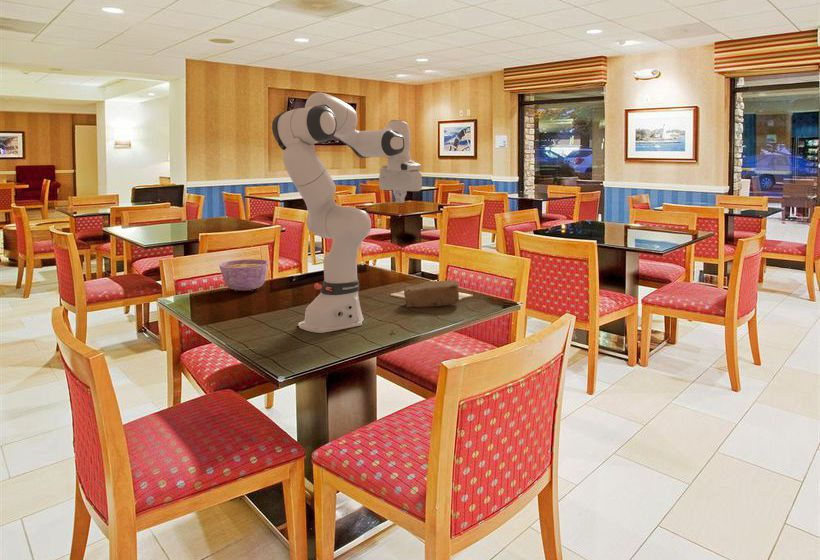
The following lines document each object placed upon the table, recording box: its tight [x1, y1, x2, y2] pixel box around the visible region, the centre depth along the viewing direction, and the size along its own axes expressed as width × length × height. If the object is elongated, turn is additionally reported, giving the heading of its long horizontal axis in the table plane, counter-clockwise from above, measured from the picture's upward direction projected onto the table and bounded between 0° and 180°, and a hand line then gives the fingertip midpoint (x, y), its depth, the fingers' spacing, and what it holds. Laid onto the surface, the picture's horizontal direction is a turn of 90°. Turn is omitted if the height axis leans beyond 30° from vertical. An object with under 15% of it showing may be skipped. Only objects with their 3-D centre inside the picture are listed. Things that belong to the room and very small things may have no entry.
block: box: [403, 280, 460, 308], centre depth 228 cm, size 11×8×20 cm
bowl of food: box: [219, 258, 269, 291], centre depth 259 cm, size 20×20×12 cm
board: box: [390, 290, 474, 301], centre depth 243 cm, size 20×26×1 cm
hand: (400, 202), depth 233 cm, fingers closed
